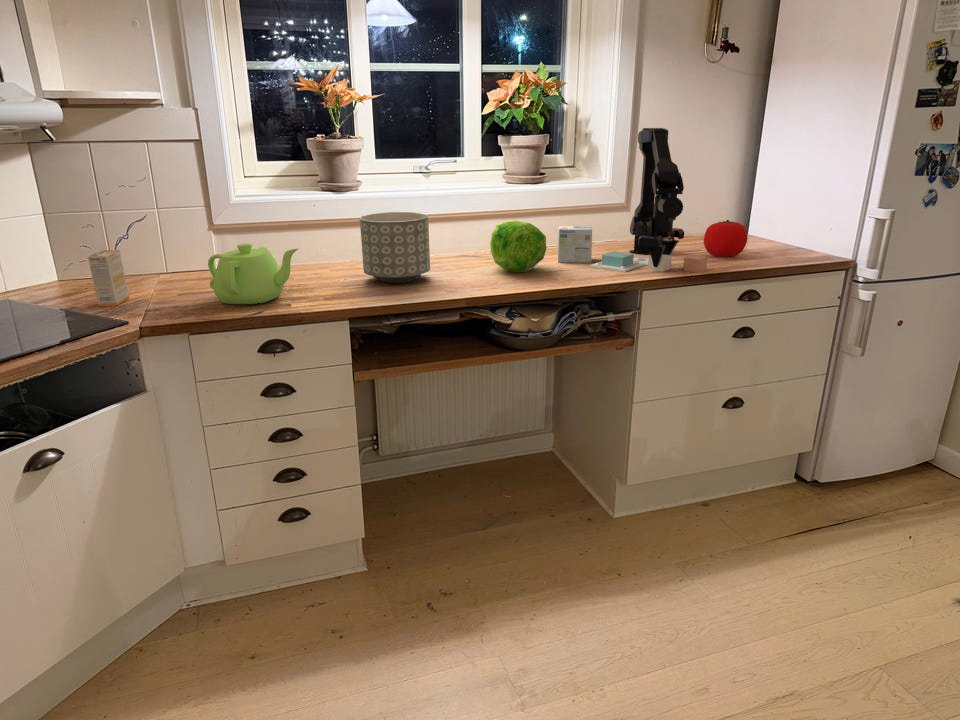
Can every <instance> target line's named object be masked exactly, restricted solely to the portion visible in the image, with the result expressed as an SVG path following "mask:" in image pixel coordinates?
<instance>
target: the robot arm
mask: <svg viewBox="0 0 960 720" xmlns="http://www.w3.org/2000/svg"><path fill="white" fill-rule="evenodd" d="M637 143H638V144H639V145H638V149H639V151H640V153H641V154H642V158H643V160H642V161H643V162H642V173H641V188H640V200H639V201H640V202H639V203H638V205H637V206H636V208H635V210H634V214H633V216H632V218H631V222H630V226H629V234H631V235H632V236H634V242H633V243H634V244H633V249H631V250H629V253H630V254H639V255H640V254H641V255H649V254H650V256H651V258H652V262H653V266H654V267H658V264H659V262H660V259H661V257H662V254H664V255H671V254H672V253H673V251H674V250H675V248H676V246H677V245H678V243H680V240H682V239H684V238H685V231H684V230H683V228H678V227H674V225H673V224H674V221H676V220H677V218H678V217H679V216H681V214H682V212H683V211H684V204H683V201H682V200H681V199H680V198H679V197H678V195H683V194H684V181H683V176H682V174H681V172H680V170H679V167H678V164H676V163H675V162H673V161H672V158H671V151H670V146H669V130H668V128H663V127H644V128H642V129H641V130H640V131H639V132H638V134H637ZM676 238H677V239H676ZM671 256H672V255H671Z"/></svg>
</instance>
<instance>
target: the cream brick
mask: <svg viewBox="0 0 960 720" xmlns="http://www.w3.org/2000/svg"><path fill="white" fill-rule="evenodd" d="M672 258H673V256H672V255H664V254H662V257H661V259H660V262H659V264H658V267H654V266H653V262H652V258H651V255H648V259H649V260H648V265H647V270H650V271H658V272H665V271H666V272H667V271H668V270H671V269H672Z"/></svg>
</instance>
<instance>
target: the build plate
mask: <svg viewBox="0 0 960 720" xmlns="http://www.w3.org/2000/svg"><path fill="white" fill-rule="evenodd" d="M634 256H635V253H631V252H628V253H627V252H621V251H610V252H608V253H604V254H602V255H601V261H599V262H596V263H592V264H590V265H589V266H590V268H594V269H600V270H601V269H602V270H609V271H615V272H621V273H627V272H629V271H633V270H635V269H638V268H640V267H643V266H645V265H644V263H639V262H633V259H634V258H635V257H634Z"/></svg>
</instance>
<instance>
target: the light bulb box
mask: <svg viewBox="0 0 960 720" xmlns="http://www.w3.org/2000/svg"><path fill="white" fill-rule="evenodd" d="M557 232H558V233H557V234H558V235H557V236H558V237H557V263H566V264H567V263H571V264H572V263H574V264H575V263H579V264H580V263H581V264H582V263H585V264H586V263H587V264H589V263H592V253H593V252H592V250H593V249H592V248H593V246H592V245H593V228H592V226H591V225H586V226H585V225H584V226H583V225H582V226H581V225H570V226H569V225H568V226H564V225H563V226H562V225H558V231H557Z"/></svg>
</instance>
